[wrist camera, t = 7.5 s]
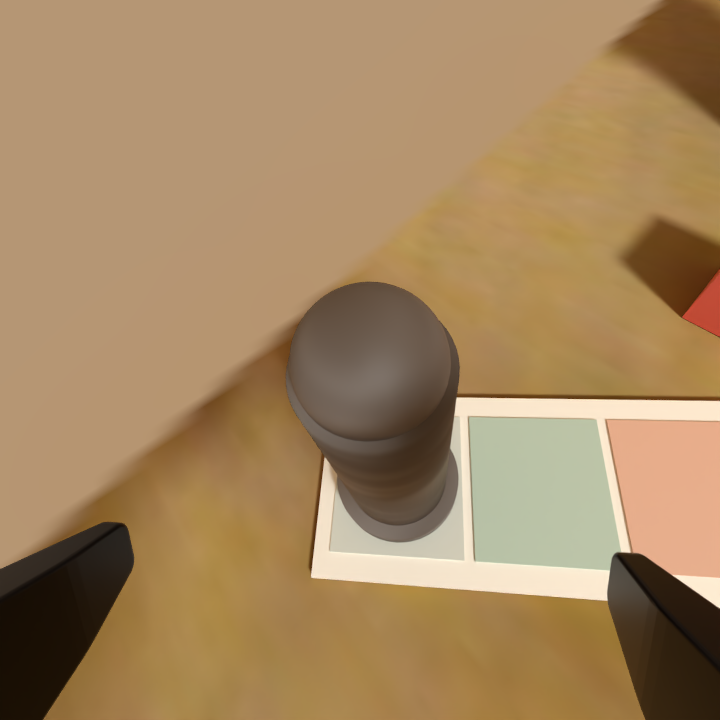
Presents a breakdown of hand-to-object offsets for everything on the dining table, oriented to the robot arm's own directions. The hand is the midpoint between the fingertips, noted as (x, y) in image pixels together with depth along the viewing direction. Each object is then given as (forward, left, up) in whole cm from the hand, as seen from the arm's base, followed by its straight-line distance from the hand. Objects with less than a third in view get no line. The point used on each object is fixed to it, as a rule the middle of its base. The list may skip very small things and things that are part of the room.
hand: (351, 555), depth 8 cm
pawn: (+2, +3, -11) cm, 11 cm away
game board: (+10, -1, -11) cm, 15 cm away
